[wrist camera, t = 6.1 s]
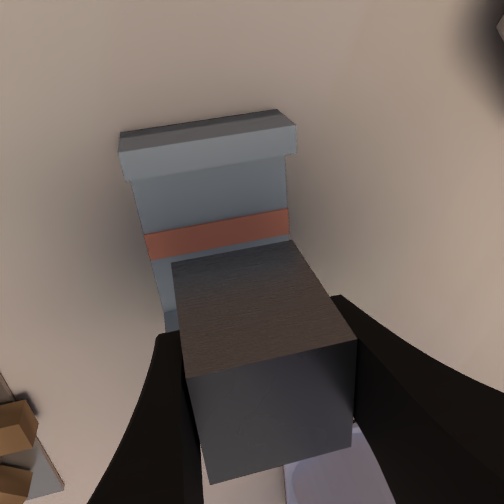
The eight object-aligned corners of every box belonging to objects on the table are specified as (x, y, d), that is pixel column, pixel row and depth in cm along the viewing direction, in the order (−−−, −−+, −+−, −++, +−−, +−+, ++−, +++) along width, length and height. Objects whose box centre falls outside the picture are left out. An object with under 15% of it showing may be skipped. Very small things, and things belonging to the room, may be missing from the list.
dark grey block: (295, 331, 16) (351, 446, 12) (190, 355, 16) (210, 484, 11) (292, 239, 14) (357, 338, 10) (170, 262, 14) (185, 378, 9)
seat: (287, 293, 21) (302, 323, 19) (167, 318, 21) (170, 353, 19) (276, 109, 17) (296, 125, 15) (120, 132, 16) (117, 152, 14)
